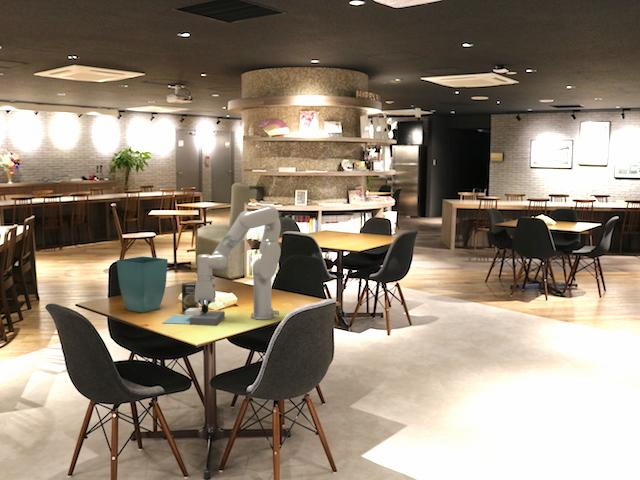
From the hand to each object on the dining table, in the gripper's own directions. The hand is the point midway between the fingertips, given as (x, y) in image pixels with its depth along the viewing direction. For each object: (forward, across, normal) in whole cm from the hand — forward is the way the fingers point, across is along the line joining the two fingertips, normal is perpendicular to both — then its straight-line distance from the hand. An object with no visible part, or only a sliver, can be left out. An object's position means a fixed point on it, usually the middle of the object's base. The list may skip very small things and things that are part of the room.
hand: (205, 312), depth 329 cm
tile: (+1, +6, -1) cm, 6 cm away
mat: (+4, +13, 0) cm, 14 cm away
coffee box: (+5, +13, -17) cm, 22 cm away
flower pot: (+5, +41, -20) cm, 46 cm away
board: (+4, -1, 0) cm, 5 cm away
